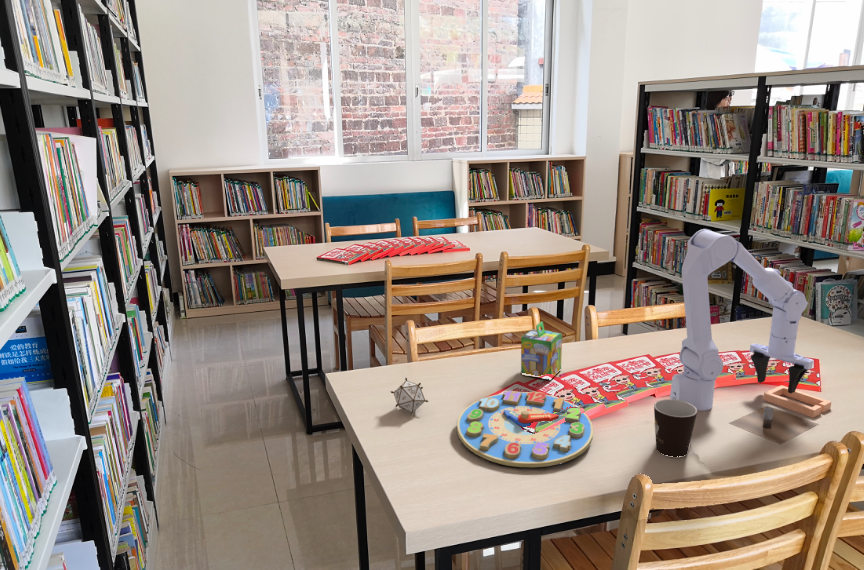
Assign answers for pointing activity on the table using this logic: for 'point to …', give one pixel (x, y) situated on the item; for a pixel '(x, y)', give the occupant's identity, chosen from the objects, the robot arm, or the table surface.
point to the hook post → (768, 417)
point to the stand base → (774, 425)
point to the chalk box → (541, 352)
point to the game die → (409, 396)
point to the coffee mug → (673, 426)
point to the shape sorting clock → (510, 445)
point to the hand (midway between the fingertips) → (776, 386)
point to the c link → (818, 403)
